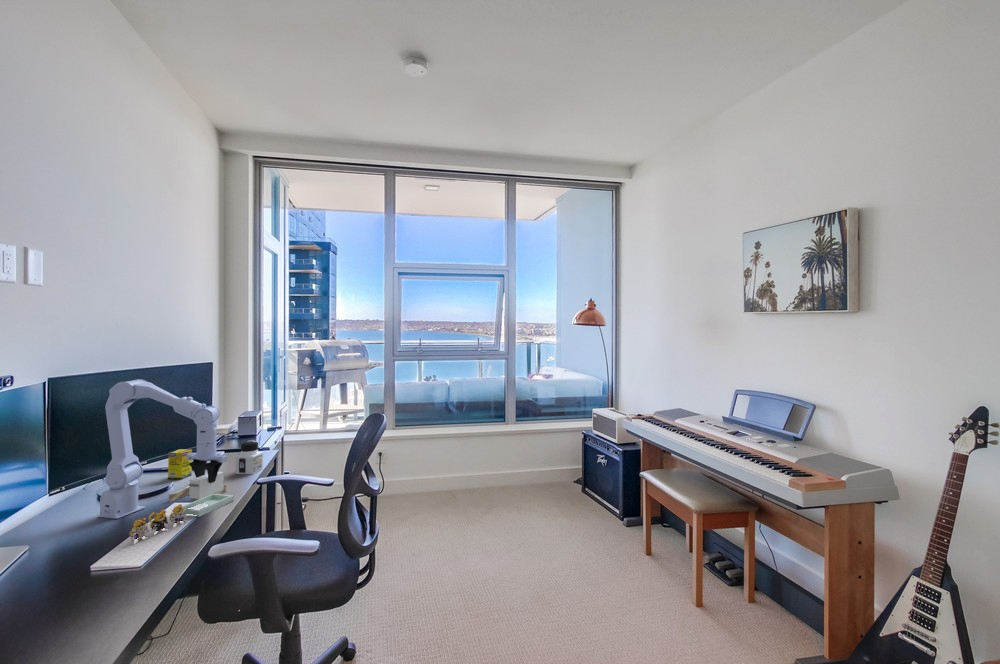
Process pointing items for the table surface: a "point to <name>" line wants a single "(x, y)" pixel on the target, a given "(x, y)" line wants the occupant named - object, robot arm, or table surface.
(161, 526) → the figurine set
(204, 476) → the white rectangular brick
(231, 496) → the tray
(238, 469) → the container
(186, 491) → the oak bay
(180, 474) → the supplement box
